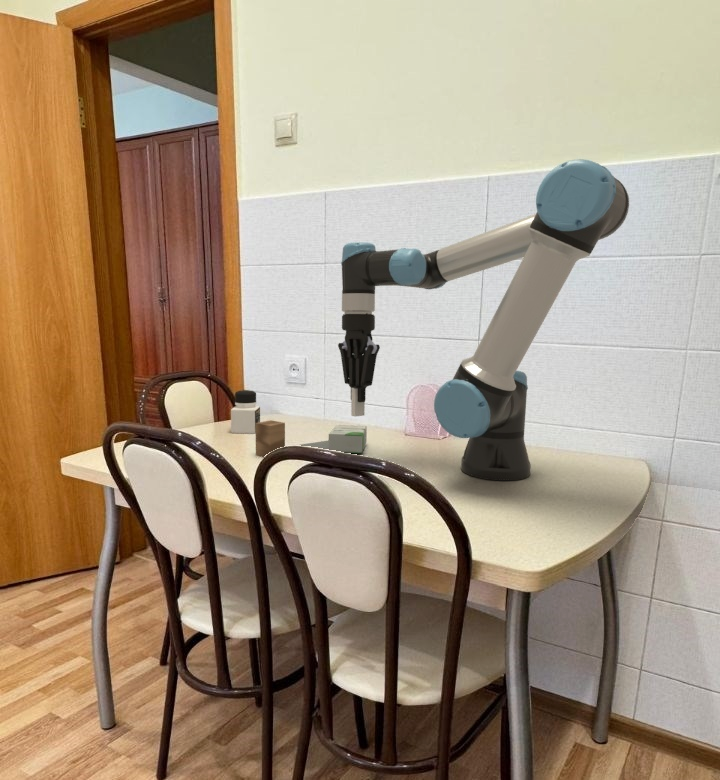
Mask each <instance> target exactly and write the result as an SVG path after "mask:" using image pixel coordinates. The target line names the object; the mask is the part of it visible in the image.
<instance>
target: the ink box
mask: <svg viewBox="0 0 720 780" xmlns="http://www.w3.org/2000/svg"><path fill="white" fill-rule="evenodd" d="M367 427H368V426H367V425H359V424H358V425H354V424H336V425H335V426H333V428H331V430H330V432H329V433H328V440H329V450H336V451H341V452H347V453H346V454H349V453H350V454H362V453H363V452H364V450H365V447H366V444H367V433H368V432H367V429H368V428H367Z"/></svg>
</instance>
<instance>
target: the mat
mask: <svg viewBox="0 0 720 780" xmlns="http://www.w3.org/2000/svg"><path fill="white" fill-rule="evenodd" d="M300 445H301V446H311V447H318V448H323V449H329V439H328V440H323V441H322V440H321V441H316V442H309V443H302V444H300Z"/></svg>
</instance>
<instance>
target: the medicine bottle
mask: <svg viewBox="0 0 720 780" xmlns="http://www.w3.org/2000/svg"><path fill="white" fill-rule="evenodd" d="M234 399H235V400H234V405H235V406H233V407H232V408H231V409H230V432H231V434H244V433H252V434H251V435H254V434H255V435H256V423H259V422H261V406H260V405H257V392H255V391H254V390H250V389H249V390H248V389H247V390H246V389H243V390H237V391H236V392H235V393H234Z"/></svg>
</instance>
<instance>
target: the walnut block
mask: <svg viewBox="0 0 720 780" xmlns="http://www.w3.org/2000/svg"><path fill="white" fill-rule="evenodd" d="M284 446H285V447H286V422H282V421H277V420H273V419H272V420H270V419H269V420H263V421H260V422H259V423H256V433H255V456H258V457H261V456H262V457H261V458H265V457H264V456H265V455H266V454H268V453H269V452H271V451H273V450H275V449H277V448H280V447H284Z"/></svg>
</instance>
